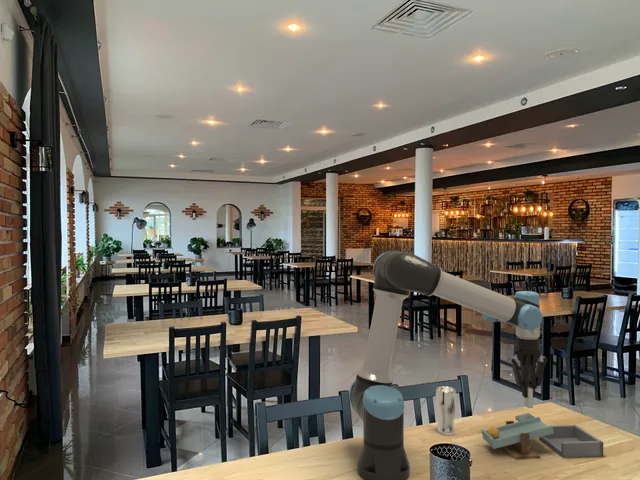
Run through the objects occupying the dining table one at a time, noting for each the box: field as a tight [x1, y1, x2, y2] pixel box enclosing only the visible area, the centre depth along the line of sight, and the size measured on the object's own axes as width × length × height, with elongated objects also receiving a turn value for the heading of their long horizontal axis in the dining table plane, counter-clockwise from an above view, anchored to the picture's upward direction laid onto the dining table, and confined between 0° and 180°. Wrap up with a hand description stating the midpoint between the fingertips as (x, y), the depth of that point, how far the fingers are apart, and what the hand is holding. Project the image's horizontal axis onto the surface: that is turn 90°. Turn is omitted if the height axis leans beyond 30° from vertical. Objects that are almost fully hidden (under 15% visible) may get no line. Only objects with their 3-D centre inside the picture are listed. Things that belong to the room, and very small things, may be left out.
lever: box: [480, 412, 554, 450], centre depth 157 cm, size 20×15×3 cm
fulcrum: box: [502, 420, 541, 460], centre depth 154 cm, size 8×13×7 cm, turn 4°
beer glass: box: [435, 385, 457, 436], centre depth 169 cm, size 7×7×15 cm
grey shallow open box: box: [538, 424, 604, 459], centre depth 156 cm, size 13×14×4 cm
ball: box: [487, 426, 499, 439], centre depth 154 cm, size 4×4×4 cm
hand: (528, 406), depth 162 cm, fingers closed
